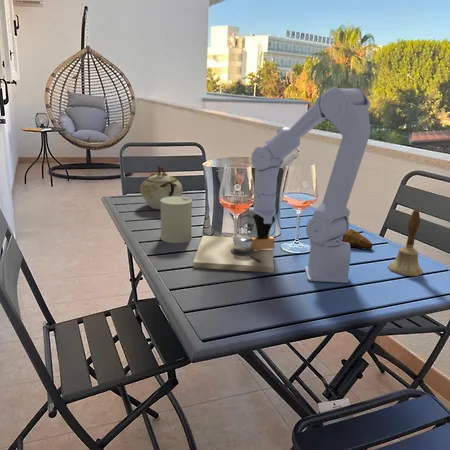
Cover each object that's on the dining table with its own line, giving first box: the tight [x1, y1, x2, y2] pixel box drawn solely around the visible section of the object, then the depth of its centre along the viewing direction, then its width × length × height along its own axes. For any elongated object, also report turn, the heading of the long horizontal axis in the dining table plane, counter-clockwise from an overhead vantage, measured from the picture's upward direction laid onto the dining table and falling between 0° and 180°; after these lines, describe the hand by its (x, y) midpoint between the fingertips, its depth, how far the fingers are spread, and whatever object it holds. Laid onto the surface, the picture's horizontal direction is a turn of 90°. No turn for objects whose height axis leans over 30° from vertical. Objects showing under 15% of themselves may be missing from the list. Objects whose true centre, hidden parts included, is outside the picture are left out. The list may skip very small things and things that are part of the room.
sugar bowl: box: [140, 165, 183, 211], centre depth 162 cm, size 20×15×15 cm
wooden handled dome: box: [233, 235, 276, 254], centre depth 120 cm, size 11×5×3 cm, turn 106°
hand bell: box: [388, 209, 423, 277], centre depth 114 cm, size 8×8×16 cm
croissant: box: [342, 228, 373, 250], centre depth 132 cm, size 14×7×5 cm, turn 49°
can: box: [160, 195, 193, 244], centre depth 131 cm, size 9×9×12 cm
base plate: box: [192, 235, 275, 273], centre depth 122 cm, size 20×20×2 cm
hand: (262, 241), depth 123 cm, fingers closed, pressing on wooden handled dome
